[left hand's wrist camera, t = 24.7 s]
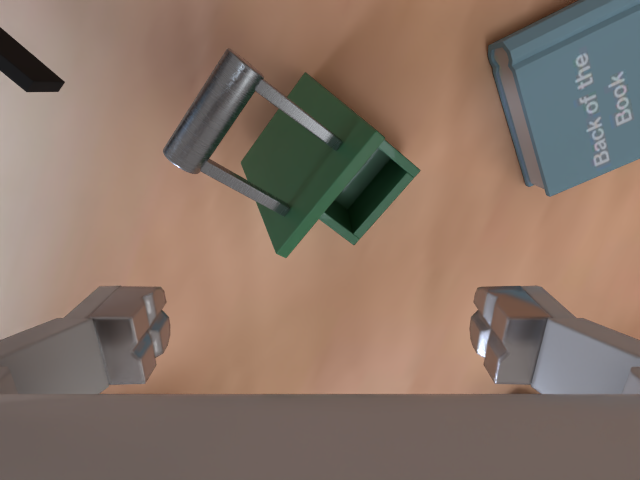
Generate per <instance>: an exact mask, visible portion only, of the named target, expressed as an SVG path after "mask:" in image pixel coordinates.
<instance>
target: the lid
mask: <svg viewBox="0 0 640 480" xmlns="http://www.w3.org/2000/svg"><path fill="white" fill-rule="evenodd" d="M255 91H256V92H257V93H259V94H260V95H261V96H263V97H264V98H265V99H267V100H268V101H269V102H271V103H272V104H273V105H275V106H276V107H277V108H279V109H278V111H277V112H276V114H275V115H274V116H273V118H272V119H271V121H270V122H269V123H268V125H267V126H266V128H265V129H264V130H263V132H262V133H261V135H260V136H259V137H258V139H257V140H256V142H255V143H254V144H253V146H252V147H251V149H250V150H249V151H248V153H247V154H246V156H245V157H244V158H243V160H242V161H241V165H242V167H243V170H244V172H245V175H246V178H247V180H248V181H247V180H246V179H244V178H242V177H240V176H239V175H237V174H235V173H233V172H232V171H230V170H228V169H226V168H225V167H223V166H221V165H219V164H218V163H216V162H214V161H212V160H211V159H209V158H210V157H211V155H212V154H213V152H214V151H215V149H216V148H217V146H218V145H219V143H220V142H221V140H222V139H223V137H224V136H225V135H226V133H227V132H228V130H229V129H230V127H231V126H232V124H233V123H234V121H235V120H236V118H237V117H238V115H239V114H240V113H241V111H242V110H243V108H244V107H245V105H246V104H247V102H248V101H249V99H250V98H251V96H252V95H253V93H254V92H255ZM384 140H385V137H384V136H383V135H381V134H380V133H379V132H378V131H377V130H376V129H374V128H373V127H372V126H371V125H370V124H368V123H367V122H366V121H365V120H363V119H362V118H361V117H360V116H359V115H357V114H356V113H355V112H354V111H352V110H351V109H350V108H349V107H348V106H346V105H345V104H344V103H343V102H341V101H340V100H339V99H338V98H336V97H335V96H334V95H333V94H332V93H330V92H329V91H328V90H327V89H325V88H324V87H323V86H322V85H321V84H319V83H318V82H317V81H316V80H314V79H313V78H312V77H311V76H310V75H308V74H307V73H306V72H305V73H304V74H303V76H302V77H301V78H300V80H299V81H298V83H297V84H296V85H295V87H294V88H293V90H292V91H291V92H290V94H289V95H288V97H286V96H285V95H283V94H282V93H281V92H280V91H278V90H277V89H276V88H274V87H273V86H272V85H271V84H269V83H268V82H267V81H265V80H264V76H263V75H262V74H261V73H260V72H259V71H258V70H257V69H256V68H255V67H253V66H252V65H251V64H250V63H249V62H247V61H246V60H245V59H244V58H242V57H241V56H240V55H238V54H237V53H236V52H234V51H233V50H231V49H229V48H228V49H226V51H225V53H224V54H223V56H222V57H221V59H220V60H219V62H218V64H217V65H216V67H215V68H214V70H213V72H212V73H211V75H210V76H209V78H208V79H207V81H206V83H205V84H204V86H203V87H202V89H201V90H200V92H199V94H198V95H197V97H196V98H195V100H194V102H193V103H192V105H191V106H190V108H189V109H188V111H187V113H186V114H185V116H184V117H183V119H182V120H181V122H180V124H179V125H178V127H177V128H176V130H175V131H174V133H173V135H172V136H171V138H170V139H169V141H168V143H167V144H166V146H165V147H164V149H163V153H164V155H165V156H166V158H167V159H168V160H169V161H171V162H172V163H173V164H174V165H176V166H177V167H179V168H180V169H182V170H184V171H186V172H189V173H192V174H198V173H200V171H201V172H203V173H205V174H206V175H208V176H210V177H212V178H214V179H216V180H217V181H219V182H221V183H223V184H225V185H227V186H229V187H230V188H232V189H234V190H236V191H238V192H240V193H241V194H243V195H245V196H247V197H249V198H251V199H253V200H254V201H256V203H257V206H258V208H259V211H260V213H261V216H262V219H263V221H264V224H265V226H266V229H267V231H268V234H269V237H270V239H271V242H272V244H273V247H274V249H275V252H276V254H278V255H280V256H282V257H285V258H287V257H288V255H289V254H290V253H291V252H292V251H293V249H294V248H295V247H296V246H297V245H298V243H299V242H300V241H301V240H302V238H303V237H304V236H305V235H306V234H307V232H308V231H309V230H310V229H311V228H312V226H313V225H314V224H315V223H316V222H317V220H318V219H319V218H320V217H321V216H322V214H323V213H324V212H325V211H326V210H327V208H328V207H329V206H330V205H331V204H332V202H333V201H334V200H335V199H336V198H337V196H338V195H339V194H340V193H341V192H342V190H343V189H344V188H345V187H346V185H347V184H348V183H349V182H350V181H351V179H352V178H353V177H354V176H355V175H356V173H357V172H358V171H359V170H360V169H361V167H362V166H363V165H364V164H365V163H366V161H367V160H368V159H369V158H370V157H371V155H372V154H373V153H374V152H375V151H376V149H377V148H378V147H379V146H380V145H381V143H382V142H383V141H384Z"/></svg>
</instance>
